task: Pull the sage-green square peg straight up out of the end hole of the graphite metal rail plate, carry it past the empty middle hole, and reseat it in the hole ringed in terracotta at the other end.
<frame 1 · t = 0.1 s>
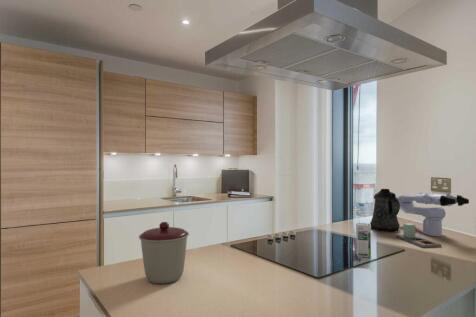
hand: (461, 201, 163), 22 cm above the worktop, tool horizontal, fingers open, 7 cm apart
peg: (409, 238, 173), resting in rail
canister: (164, 279, 118), on the worktop
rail: (417, 241, 167), on the worktop
beer stein: (387, 230, 195), on the worktop
syrup box: (363, 255, 144), on the worktop
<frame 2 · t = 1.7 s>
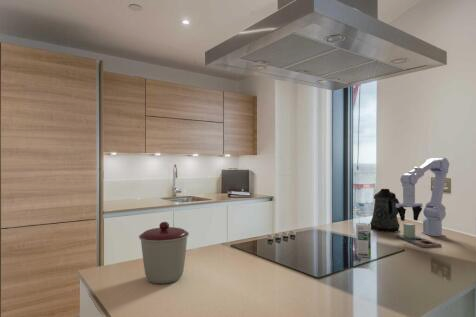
hand: (409, 220, 173), 10 cm above the worktop, tool pointing down, fingers open, 7 cm apart
nothing on the worktop moved.
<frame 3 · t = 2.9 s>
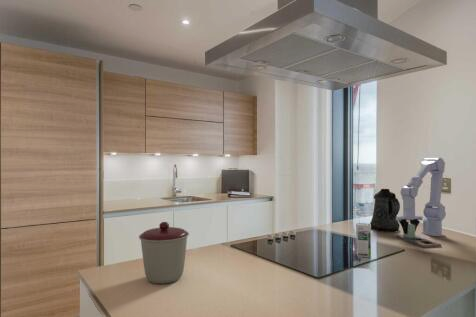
hand: (409, 233, 173), 3 cm above the worktop, tool pointing down, fingers closed on peg, 4 cm apart
peg: (409, 238, 173), resting in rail, touching gripper
everything else where it was.
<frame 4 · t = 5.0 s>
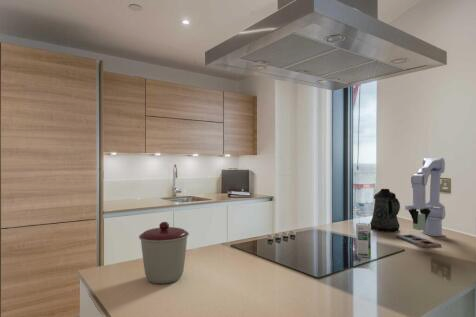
hand: (419, 223, 165), 10 cm above the worktop, tool pointing down, fingers closed on peg, 4 cm apart
peg: (419, 229, 165), point 7 cm above the worktop, touching gripper
everything else where it was.
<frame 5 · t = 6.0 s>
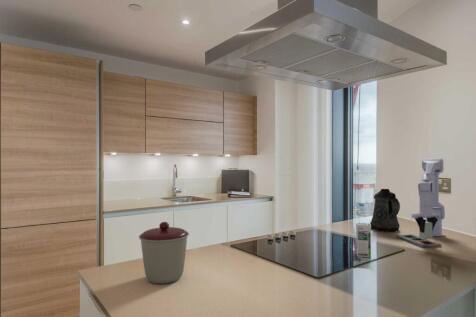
hand: (426, 232, 160), 7 cm above the worktop, tool pointing down, fingers closed on peg, 4 cm apart
peg: (425, 238, 161), point 3 cm above the worktop, touching gripper
everything else where it was.
when the fingers open (4 cm above the worktop, at t = 6.9 s): peg stays where it is, resting in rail.
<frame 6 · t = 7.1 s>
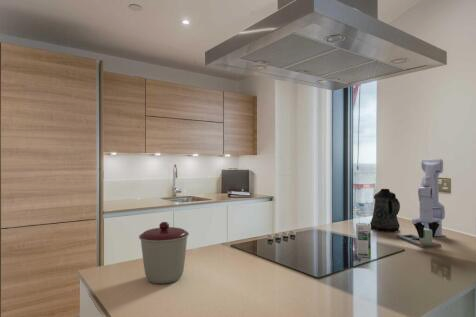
hand: (426, 237, 160), 4 cm above the worktop, tool pointing down, fingers open, 6 cm apart
peg: (425, 245, 161), resting in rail
everything else where it was.
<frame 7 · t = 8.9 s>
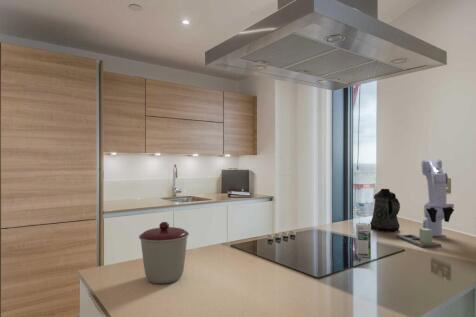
hand: (440, 221, 167), 10 cm above the worktop, tool pointing down, fingers open, 7 cm apart
nothing on the worktop moved.
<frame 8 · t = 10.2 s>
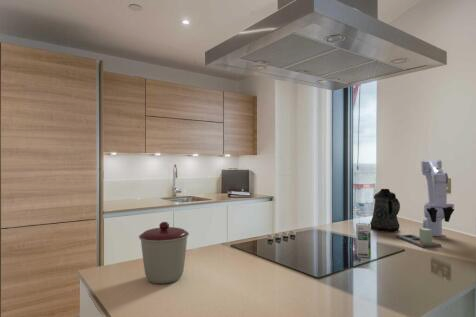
hand: (440, 221, 167), 10 cm above the worktop, tool pointing down, fingers open, 7 cm apart
nothing on the worktop moved.
at the end: peg 0.4 cm from the target spot on the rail, point 0.0 cm above the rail's base; peg tilted 0°; the gripper is holding nothing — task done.
